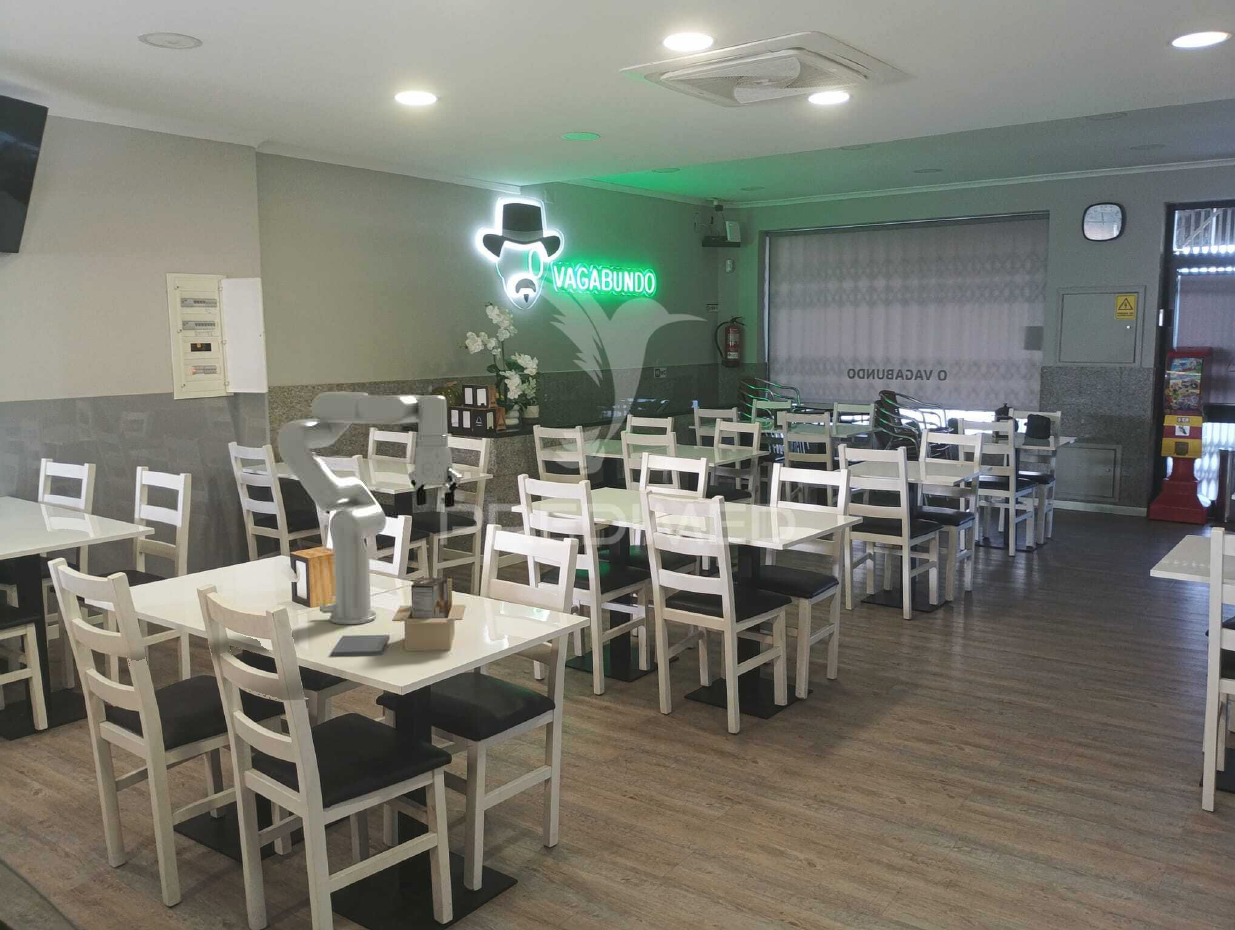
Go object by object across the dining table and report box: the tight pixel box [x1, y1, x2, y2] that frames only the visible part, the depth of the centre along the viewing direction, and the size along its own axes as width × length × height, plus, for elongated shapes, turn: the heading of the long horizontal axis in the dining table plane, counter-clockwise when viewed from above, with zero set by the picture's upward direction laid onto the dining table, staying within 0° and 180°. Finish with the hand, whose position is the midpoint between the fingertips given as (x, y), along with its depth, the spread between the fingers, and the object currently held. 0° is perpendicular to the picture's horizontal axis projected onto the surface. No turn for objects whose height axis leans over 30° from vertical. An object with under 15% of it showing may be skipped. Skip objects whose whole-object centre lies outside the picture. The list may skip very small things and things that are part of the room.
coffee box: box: [410, 577, 448, 619], centre depth 243 cm, size 9×6×16 cm
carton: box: [392, 578, 467, 652], centre depth 241 cm, size 17×17×15 cm
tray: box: [331, 634, 391, 657], centre depth 239 cm, size 12×14×1 cm
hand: (435, 505), depth 252 cm, fingers open, 9 cm apart
